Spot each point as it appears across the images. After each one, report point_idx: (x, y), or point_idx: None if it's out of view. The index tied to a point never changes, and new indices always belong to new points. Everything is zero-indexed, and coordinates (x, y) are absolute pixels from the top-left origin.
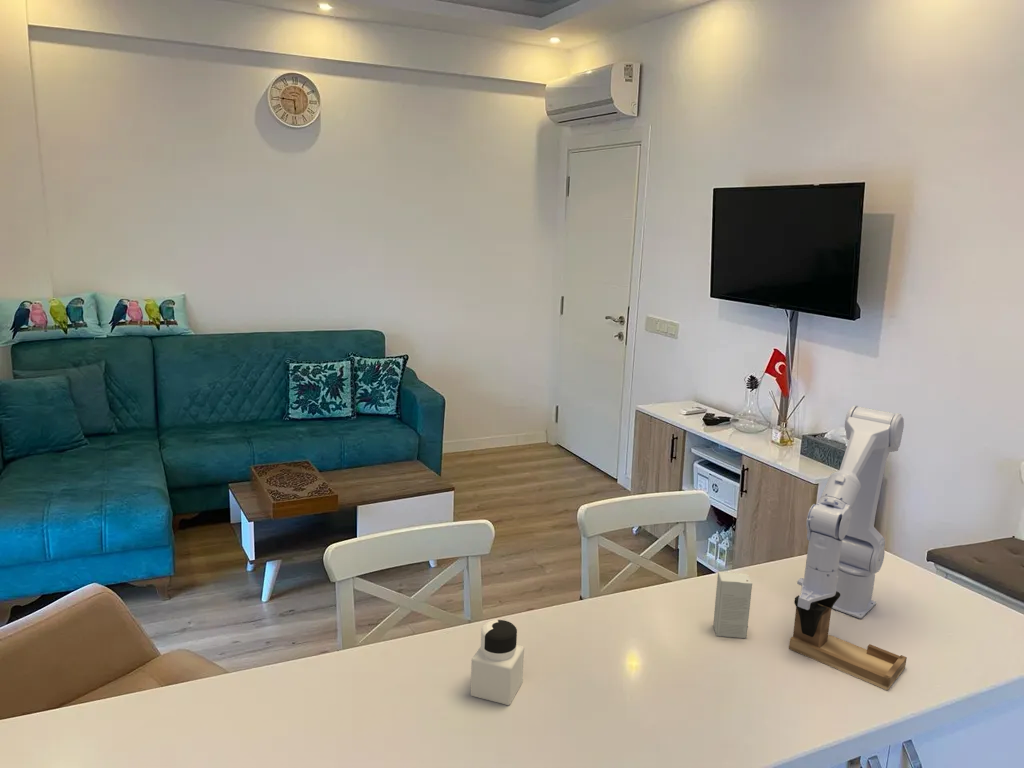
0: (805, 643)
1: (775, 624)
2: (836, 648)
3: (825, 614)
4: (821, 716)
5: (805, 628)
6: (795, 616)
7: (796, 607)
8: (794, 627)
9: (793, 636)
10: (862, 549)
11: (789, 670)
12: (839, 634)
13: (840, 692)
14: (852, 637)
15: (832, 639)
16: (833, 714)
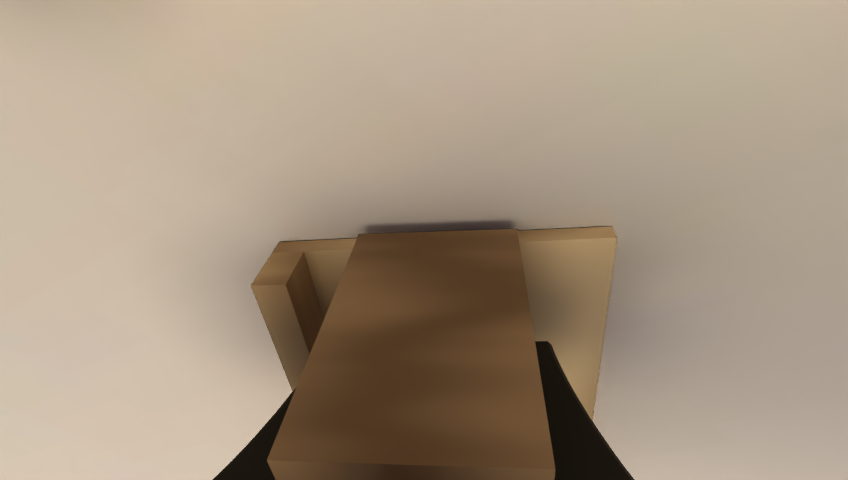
0: (293, 357)
1: (494, 15)
2: None
3: None
4: (51, 461)
5: None
6: (307, 364)
7: (271, 454)
8: (335, 294)
9: (353, 250)
10: None
11: (126, 319)
12: (683, 347)
13: (217, 462)
14: (695, 392)
15: (560, 364)
16: (98, 476)
